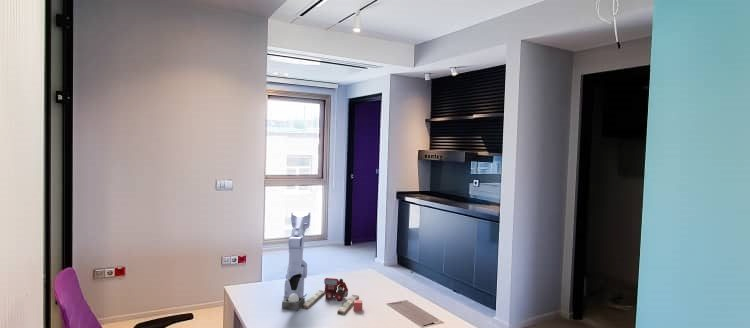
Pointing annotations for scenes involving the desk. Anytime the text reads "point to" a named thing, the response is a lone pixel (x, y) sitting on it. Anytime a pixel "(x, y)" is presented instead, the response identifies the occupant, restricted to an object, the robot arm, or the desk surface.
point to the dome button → (293, 298)
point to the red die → (357, 305)
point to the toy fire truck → (335, 289)
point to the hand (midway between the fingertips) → (293, 289)
